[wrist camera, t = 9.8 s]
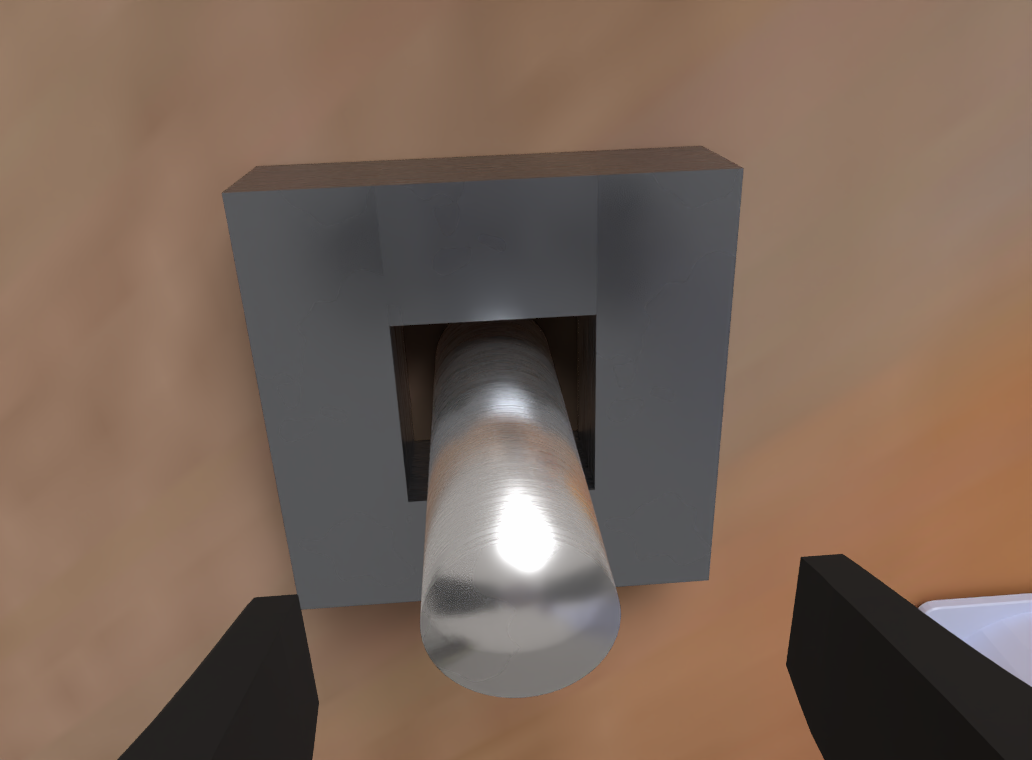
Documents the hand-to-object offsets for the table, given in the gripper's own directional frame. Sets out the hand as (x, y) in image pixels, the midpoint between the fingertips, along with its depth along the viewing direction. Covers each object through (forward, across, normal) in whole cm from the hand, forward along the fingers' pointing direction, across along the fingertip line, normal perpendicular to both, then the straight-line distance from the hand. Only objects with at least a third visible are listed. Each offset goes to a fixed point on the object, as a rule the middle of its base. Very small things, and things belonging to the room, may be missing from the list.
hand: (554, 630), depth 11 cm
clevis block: (+10, 0, 0) cm, 10 cm away
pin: (+10, 0, 0) cm, 10 cm away
